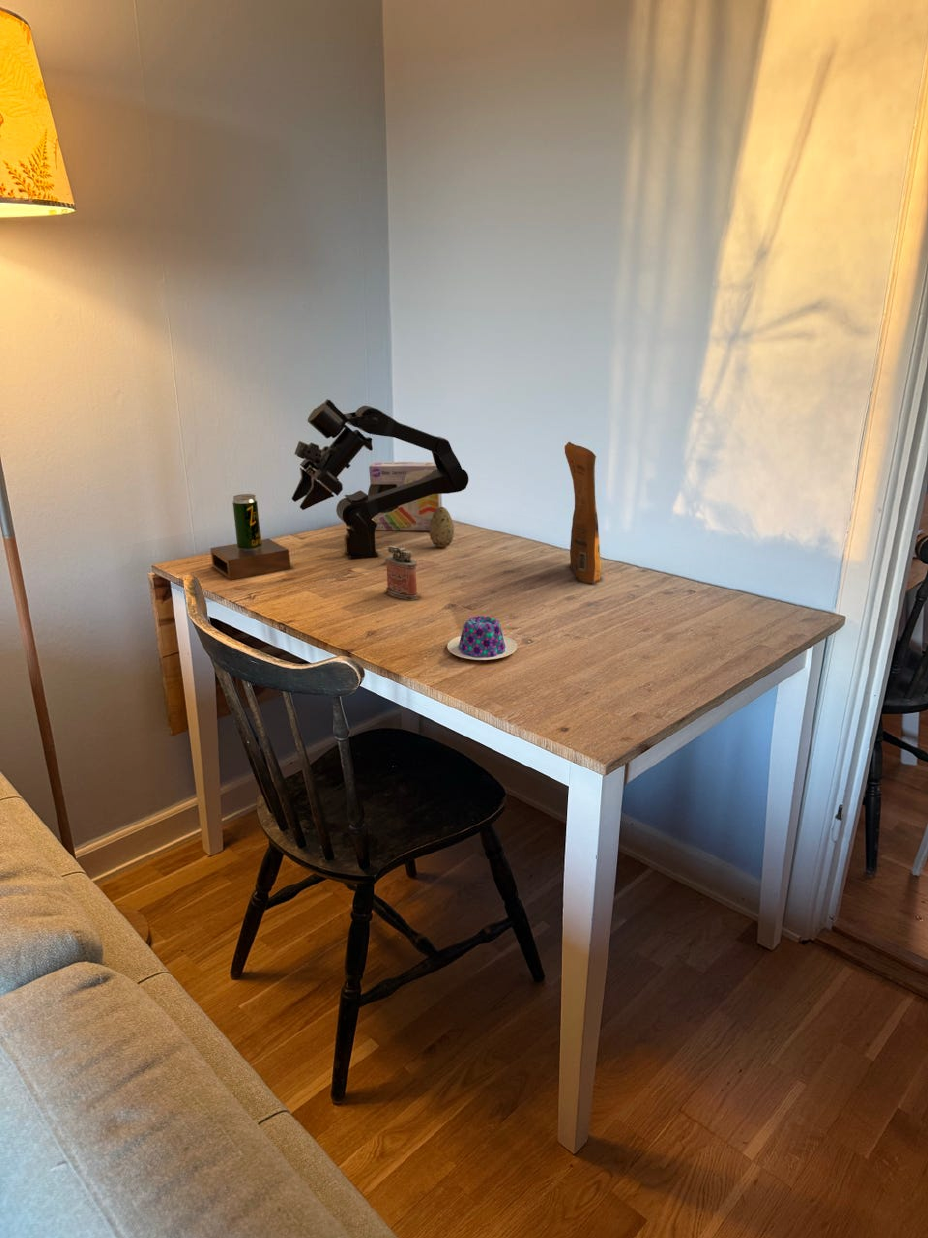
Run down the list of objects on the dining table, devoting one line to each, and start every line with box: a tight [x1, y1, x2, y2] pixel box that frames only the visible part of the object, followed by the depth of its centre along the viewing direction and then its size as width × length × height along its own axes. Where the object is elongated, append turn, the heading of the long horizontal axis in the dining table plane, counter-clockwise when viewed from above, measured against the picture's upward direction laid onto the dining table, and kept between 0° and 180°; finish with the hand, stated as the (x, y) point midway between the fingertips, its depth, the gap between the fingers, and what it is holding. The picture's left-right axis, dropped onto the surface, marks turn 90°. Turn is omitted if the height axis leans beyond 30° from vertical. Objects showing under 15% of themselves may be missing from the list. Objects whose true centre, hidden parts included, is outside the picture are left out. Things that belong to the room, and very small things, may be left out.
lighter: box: [384, 545, 419, 601], centre depth 167 cm, size 8×3×10 cm, turn 47°
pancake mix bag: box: [564, 441, 602, 585], centre depth 177 cm, size 7×19×28 cm, turn 3°
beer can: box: [231, 493, 262, 552], centre depth 184 cm, size 5×5×12 cm
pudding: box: [446, 615, 518, 661], centre depth 141 cm, size 12×12×5 cm
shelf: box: [210, 538, 291, 581], centre depth 187 cm, size 14×12×4 cm
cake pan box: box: [367, 461, 443, 531], centre depth 216 cm, size 19×5×18 cm, turn 80°
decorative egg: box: [429, 506, 455, 548], centre depth 201 cm, size 6×6×10 cm
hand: (297, 504), depth 187 cm, fingers open, 9 cm apart
